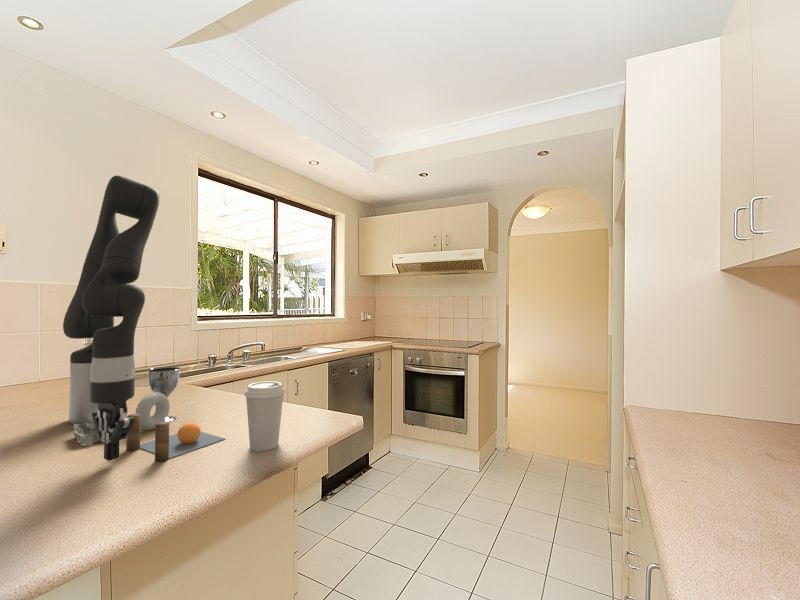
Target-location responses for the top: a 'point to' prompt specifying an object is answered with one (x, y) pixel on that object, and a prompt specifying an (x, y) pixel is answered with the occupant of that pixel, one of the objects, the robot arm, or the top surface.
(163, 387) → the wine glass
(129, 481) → the top surface
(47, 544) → the top surface
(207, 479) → the top surface
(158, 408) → the donut
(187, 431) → the ball
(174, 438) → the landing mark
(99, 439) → the egg carton
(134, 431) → the post
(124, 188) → the robot arm
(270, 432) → the coffee cup
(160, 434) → the post
